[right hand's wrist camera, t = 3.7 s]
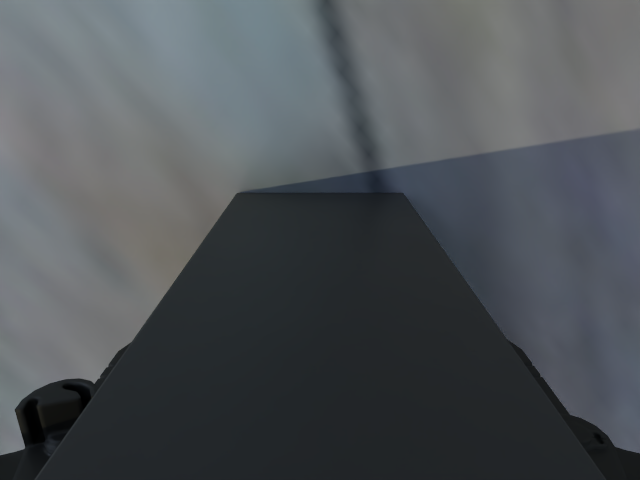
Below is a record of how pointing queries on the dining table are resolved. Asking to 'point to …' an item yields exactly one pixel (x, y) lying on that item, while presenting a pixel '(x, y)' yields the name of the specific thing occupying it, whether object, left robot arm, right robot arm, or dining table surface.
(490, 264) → the dining table surface
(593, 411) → the dining table surface
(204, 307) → the box
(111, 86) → the dining table surface
